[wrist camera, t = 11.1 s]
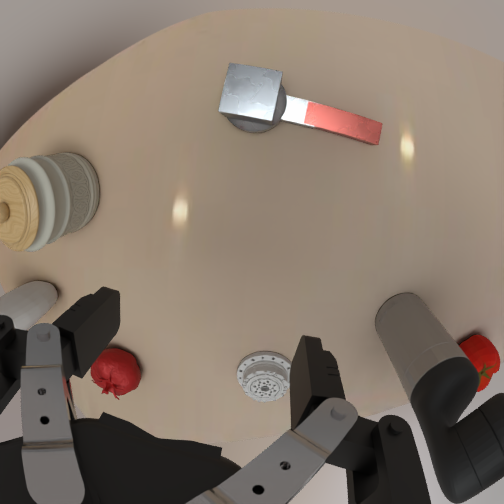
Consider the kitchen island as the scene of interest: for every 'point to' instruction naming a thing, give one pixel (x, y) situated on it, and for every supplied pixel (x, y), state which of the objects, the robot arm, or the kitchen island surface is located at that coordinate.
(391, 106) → the kitchen island surface
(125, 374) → the pomegranate
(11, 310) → the soap bottle
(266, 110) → the brushed metal cube
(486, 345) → the tomato
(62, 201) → the jar
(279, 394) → the mechanical component
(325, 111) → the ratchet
